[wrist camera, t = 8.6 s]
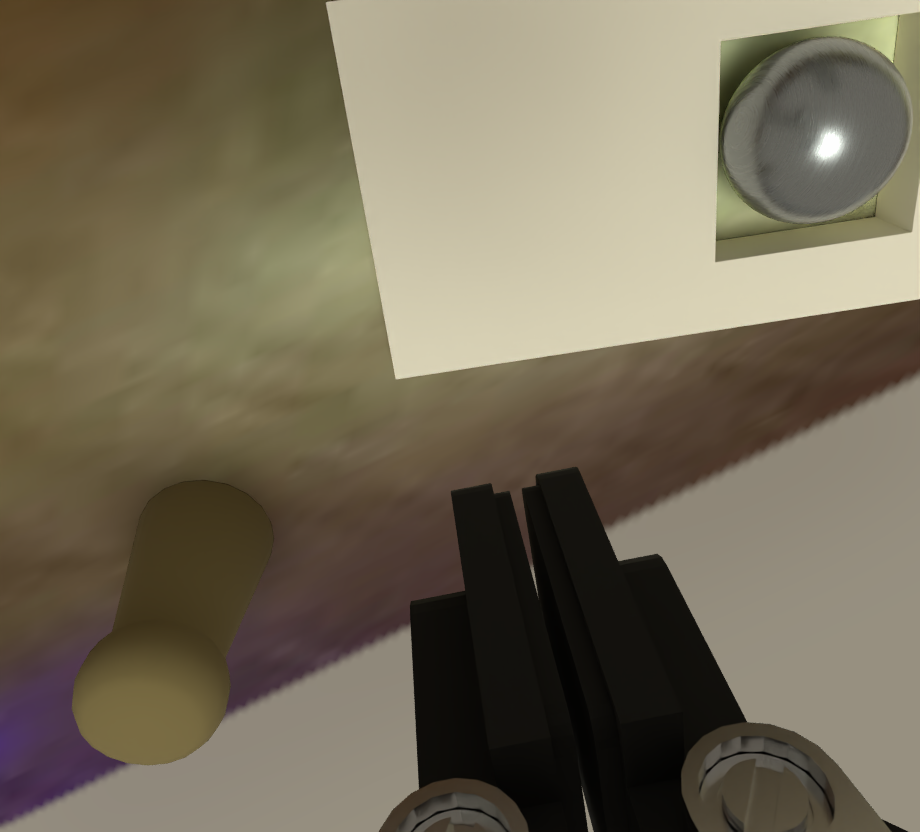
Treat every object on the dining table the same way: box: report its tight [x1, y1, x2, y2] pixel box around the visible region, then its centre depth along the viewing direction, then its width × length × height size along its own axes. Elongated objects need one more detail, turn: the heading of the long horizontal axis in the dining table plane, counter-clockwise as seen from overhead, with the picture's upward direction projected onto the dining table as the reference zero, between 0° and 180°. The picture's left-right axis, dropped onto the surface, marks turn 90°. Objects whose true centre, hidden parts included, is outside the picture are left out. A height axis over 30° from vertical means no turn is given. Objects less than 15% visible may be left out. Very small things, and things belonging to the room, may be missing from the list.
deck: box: [326, 0, 920, 379], centre depth 28 cm, size 13×22×2 cm, turn 97°
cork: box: [72, 480, 274, 765], centre depth 31 cm, size 6×6×11 cm
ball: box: [720, 37, 913, 224], centre depth 27 cm, size 6×6×6 cm
